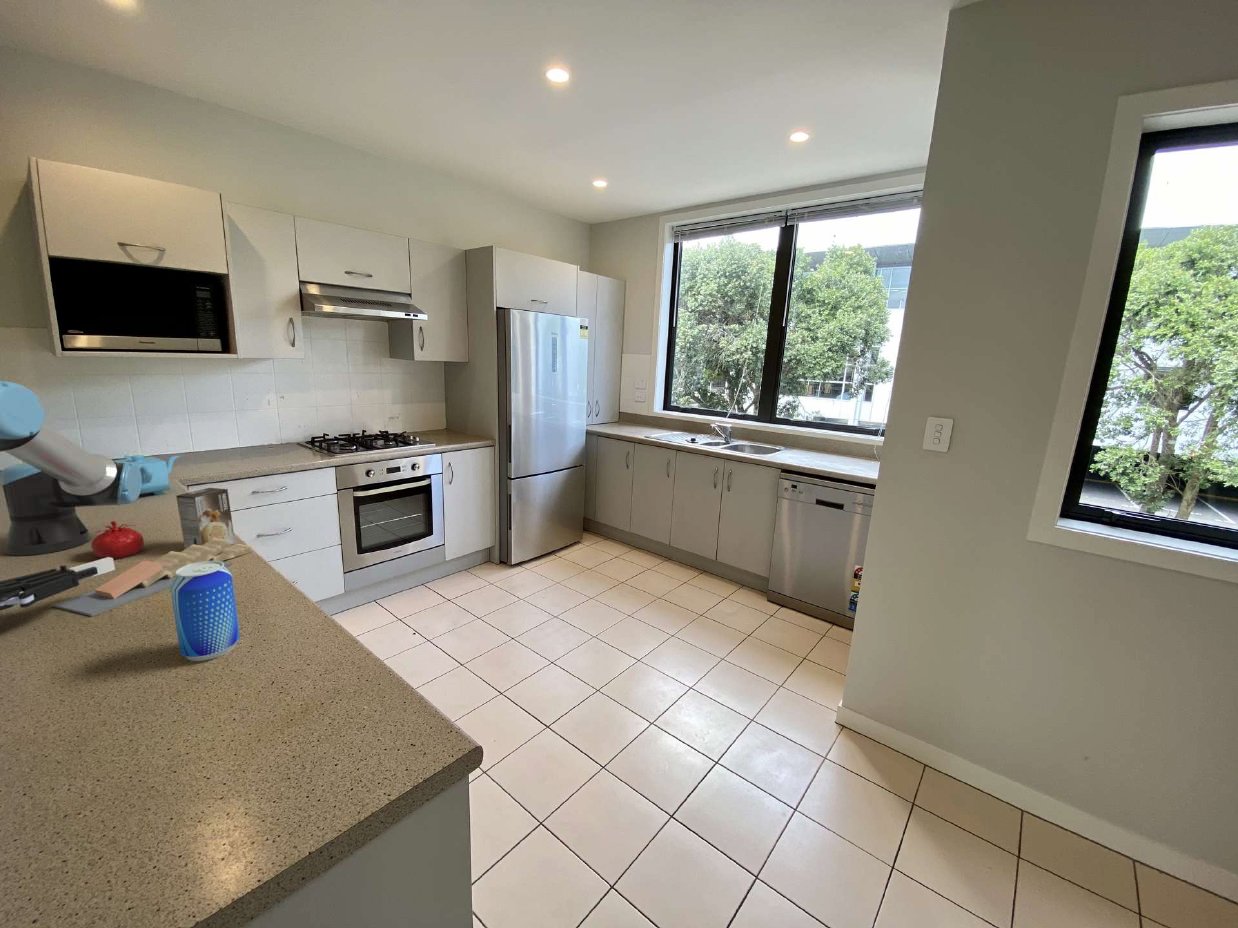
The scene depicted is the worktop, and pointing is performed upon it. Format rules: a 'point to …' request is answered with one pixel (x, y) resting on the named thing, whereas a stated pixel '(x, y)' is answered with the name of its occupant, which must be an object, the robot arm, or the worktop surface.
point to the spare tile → (128, 579)
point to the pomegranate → (117, 542)
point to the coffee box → (205, 516)
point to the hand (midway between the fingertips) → (111, 563)
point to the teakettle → (152, 472)
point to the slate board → (98, 604)
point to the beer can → (204, 610)
